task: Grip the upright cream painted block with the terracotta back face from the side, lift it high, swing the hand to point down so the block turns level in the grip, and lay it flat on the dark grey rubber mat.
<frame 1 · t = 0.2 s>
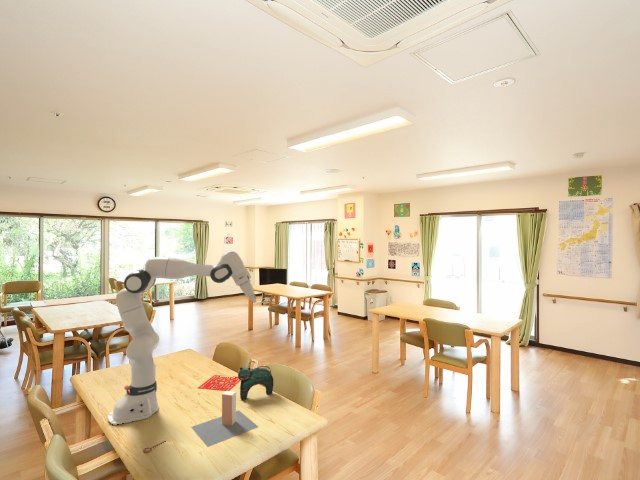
hand: (255, 300, 184), 54 cm above the table, tool tilted 30°, fingers open, 8 cm apart
block: (229, 422, 160), point 1 cm above the table, touching mat
key: (160, 444, 145), on the table
mat: (224, 428, 156), on the table
ceramic cat: (255, 396, 189), on the table
maze puzzle: (221, 383, 207), on the table
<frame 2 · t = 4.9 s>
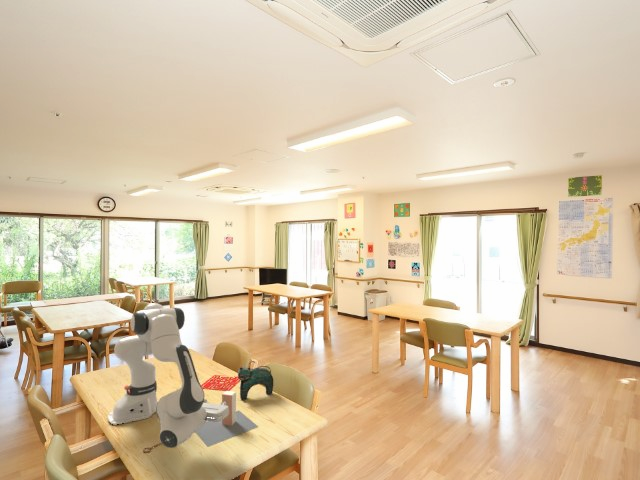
hand: (214, 402, 148), 16 cm above the table, tool horizontal, fingers open, 8 cm apart
nothing on the table moved.
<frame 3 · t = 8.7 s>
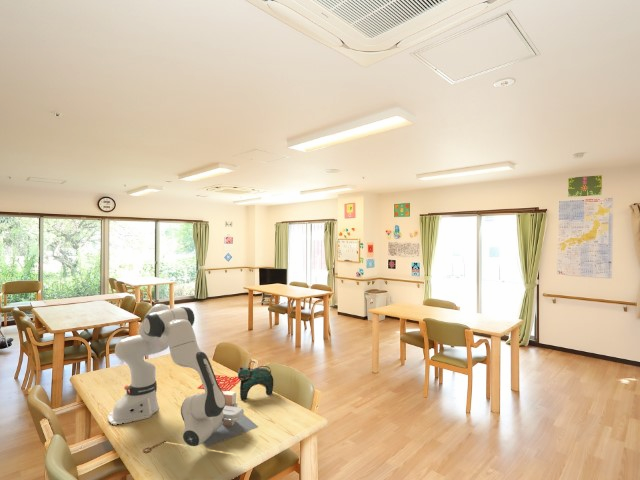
hand: (229, 404, 160), 9 cm above the table, tool horizontal, fingers closed on block, 5 cm apart
block: (229, 422, 160), point 1 cm above the table, touching gripper, mat
everything else where it was.
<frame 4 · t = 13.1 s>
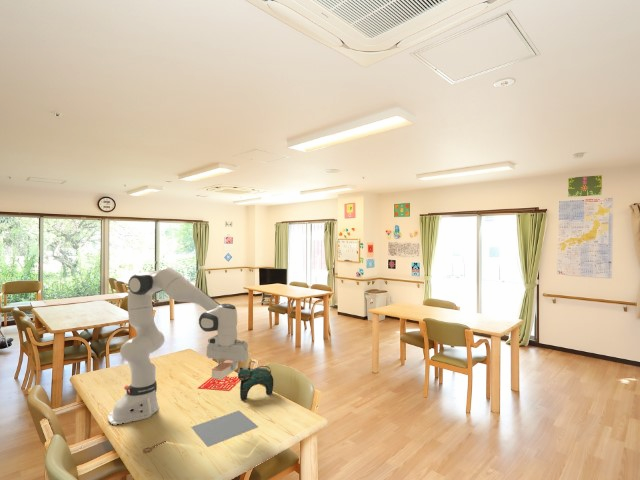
hand: (227, 368, 158), 27 cm above the table, tool pointing down, fingers closed on block, 5 cm apart
block: (216, 374, 150), point 27 cm above the table, tilted 90°, touching gripper
everything else where it was.
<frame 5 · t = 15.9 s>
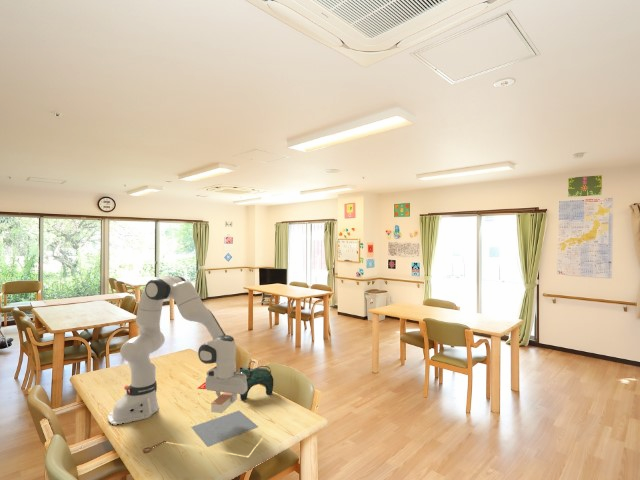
hand: (226, 401, 158), 12 cm above the table, tool pointing down, fingers closed on block, 5 cm apart
block: (216, 408, 149), point 13 cm above the table, tilted 90°, touching gripper
everything else where it was.
when the fingers open (4 cm above the table, at t = 18.1 s): block drops 2 cm, resting on mat.
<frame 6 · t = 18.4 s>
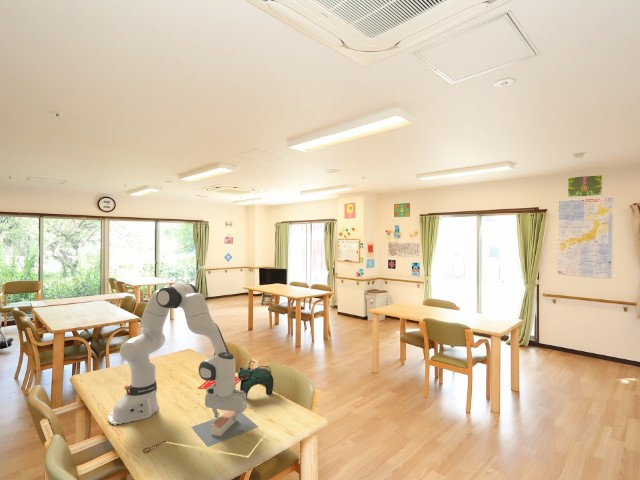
hand: (225, 418, 158), 4 cm above the table, tool pointing down, fingers open, 8 cm apart
block: (215, 430, 149), point 3 cm above the table, tilted 90°, touching mat
everything else where it was.
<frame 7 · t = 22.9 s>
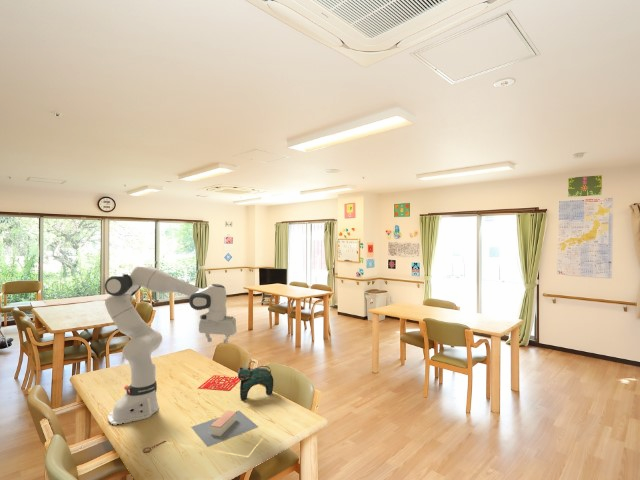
hand: (217, 342, 175), 34 cm above the table, tool pointing down, fingers open, 8 cm apart
nothing on the table moved.
at the end: block tilted 90°; block inside the target area on the mat (7.2 cm from its centre), point 2.6 cm above the mat's base; block touching mat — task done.
